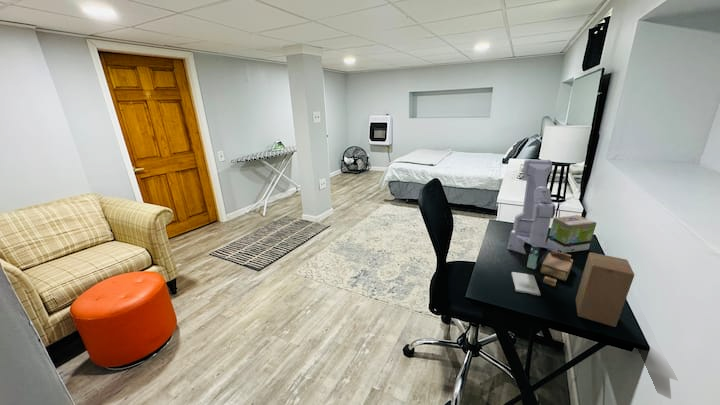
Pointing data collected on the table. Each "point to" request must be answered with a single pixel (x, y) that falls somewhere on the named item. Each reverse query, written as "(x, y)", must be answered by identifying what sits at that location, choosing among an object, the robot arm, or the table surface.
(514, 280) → the external hard drive
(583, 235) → the tea box
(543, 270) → the tan shallow box
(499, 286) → the table surface
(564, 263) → the lid
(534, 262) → the teal stepped block
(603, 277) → the wooden block
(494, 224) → the table surface
